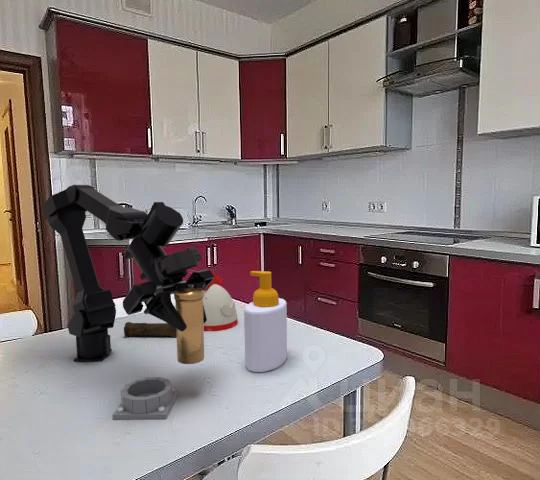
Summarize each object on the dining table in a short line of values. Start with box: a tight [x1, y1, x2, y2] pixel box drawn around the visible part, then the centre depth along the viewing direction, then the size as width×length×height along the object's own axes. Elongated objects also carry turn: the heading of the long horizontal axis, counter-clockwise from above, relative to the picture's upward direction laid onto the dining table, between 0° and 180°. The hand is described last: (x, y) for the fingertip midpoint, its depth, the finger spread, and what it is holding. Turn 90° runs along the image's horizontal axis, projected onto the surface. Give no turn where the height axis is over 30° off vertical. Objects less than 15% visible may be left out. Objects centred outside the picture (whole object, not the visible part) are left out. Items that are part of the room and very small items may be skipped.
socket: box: [112, 376, 180, 420], centre depth 72 cm, size 9×9×3 cm
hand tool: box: [123, 321, 177, 339], centre depth 108 cm, size 19×4×5 cm, turn 83°
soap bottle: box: [243, 270, 288, 373], centre depth 90 cm, size 13×8×20 cm, turn 154°
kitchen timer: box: [203, 272, 239, 332], centre depth 118 cm, size 14×14×15 cm
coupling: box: [173, 288, 205, 365], centre depth 75 cm, size 5×5×13 cm
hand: (194, 326), depth 74 cm, fingers closed on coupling, 5 cm apart
